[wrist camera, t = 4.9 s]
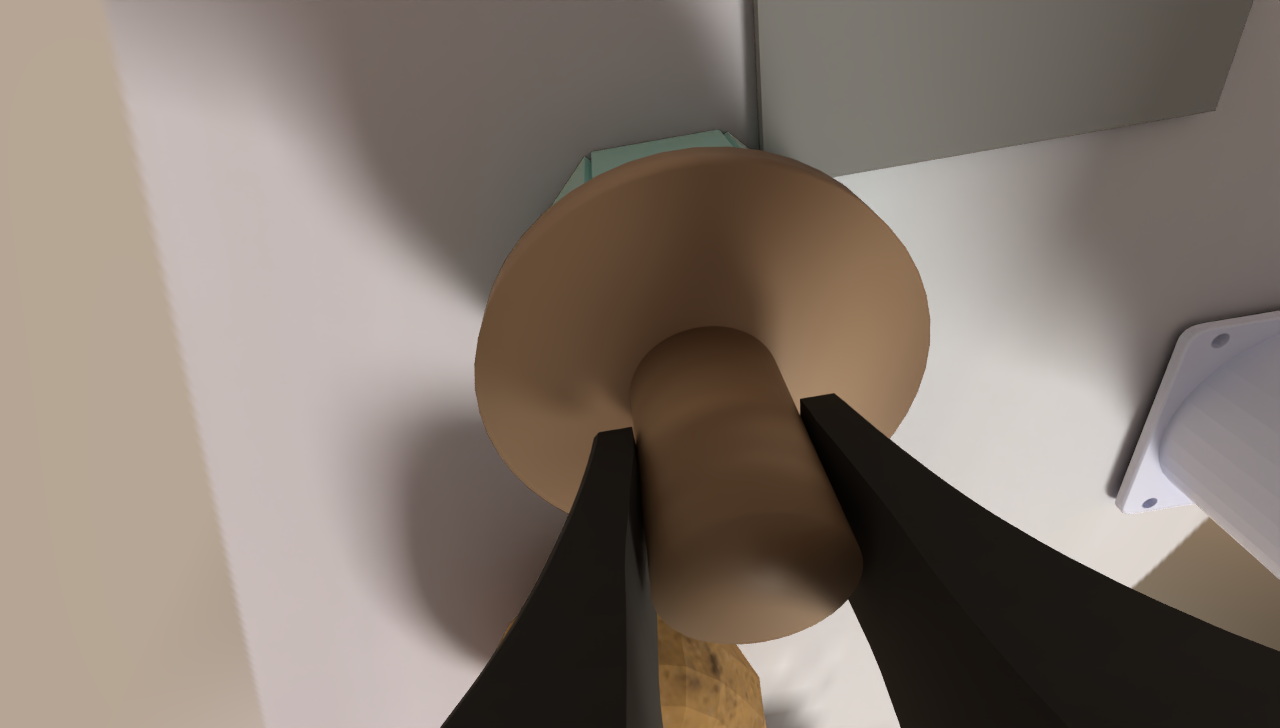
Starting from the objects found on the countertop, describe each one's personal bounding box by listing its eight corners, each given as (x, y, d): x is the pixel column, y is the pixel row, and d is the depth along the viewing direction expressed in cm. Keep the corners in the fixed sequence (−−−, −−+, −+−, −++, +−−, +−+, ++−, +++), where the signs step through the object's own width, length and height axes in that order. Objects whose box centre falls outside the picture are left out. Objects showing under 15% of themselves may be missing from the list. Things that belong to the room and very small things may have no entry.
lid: (952, 124, 11) (1221, 266, 6) (871, 486, 16) (985, 705, 11) (430, 170, 10) (317, 352, 6) (522, 523, 16) (499, 761, 11)
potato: (738, 472, 21) (809, 712, 14) (739, 693, 29) (785, 916, 22) (451, 506, 21) (388, 764, 14) (530, 719, 29) (513, 950, 22)
